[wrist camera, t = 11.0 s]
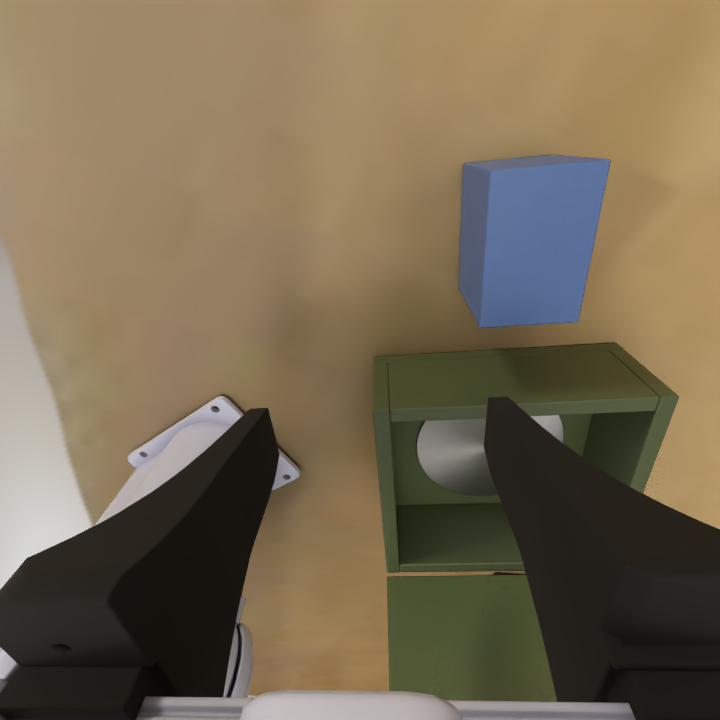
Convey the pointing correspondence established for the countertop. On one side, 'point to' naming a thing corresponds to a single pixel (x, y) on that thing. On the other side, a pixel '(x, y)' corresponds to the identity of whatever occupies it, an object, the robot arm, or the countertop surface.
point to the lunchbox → (469, 401)
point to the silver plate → (464, 453)
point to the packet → (528, 237)
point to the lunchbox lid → (467, 639)
